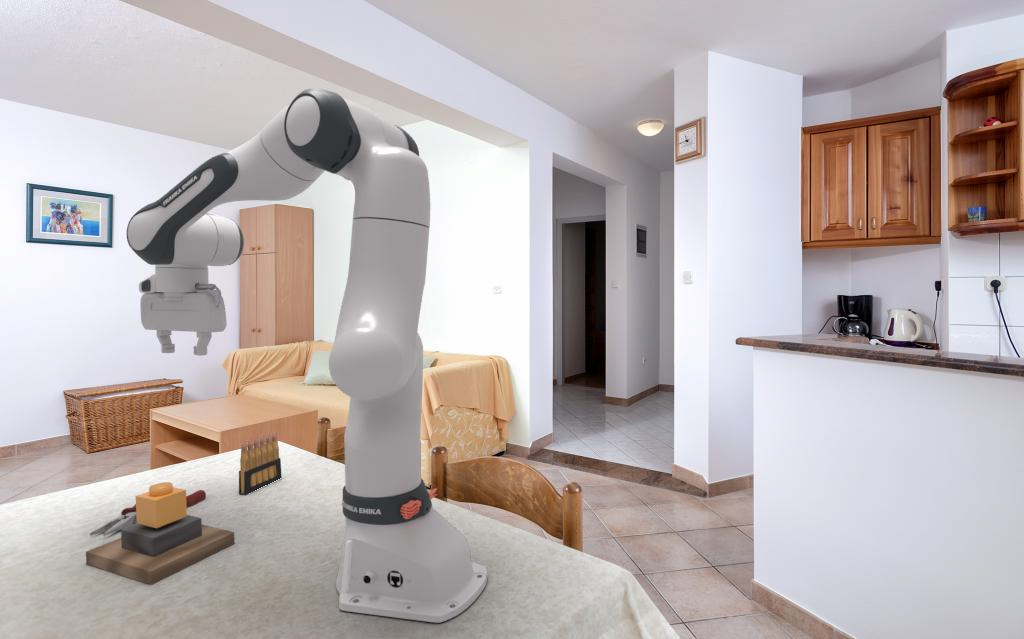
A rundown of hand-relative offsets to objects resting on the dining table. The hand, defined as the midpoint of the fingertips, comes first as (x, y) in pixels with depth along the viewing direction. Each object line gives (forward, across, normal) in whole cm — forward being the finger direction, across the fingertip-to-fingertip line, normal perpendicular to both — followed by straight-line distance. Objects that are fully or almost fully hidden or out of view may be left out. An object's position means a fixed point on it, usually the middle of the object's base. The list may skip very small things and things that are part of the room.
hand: (184, 354), depth 103 cm
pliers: (+32, +7, +4) cm, 33 cm away
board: (+31, -13, +13) cm, 36 cm away
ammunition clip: (+32, -2, -16) cm, 35 cm away
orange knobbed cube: (+26, -13, +13) cm, 32 cm away
